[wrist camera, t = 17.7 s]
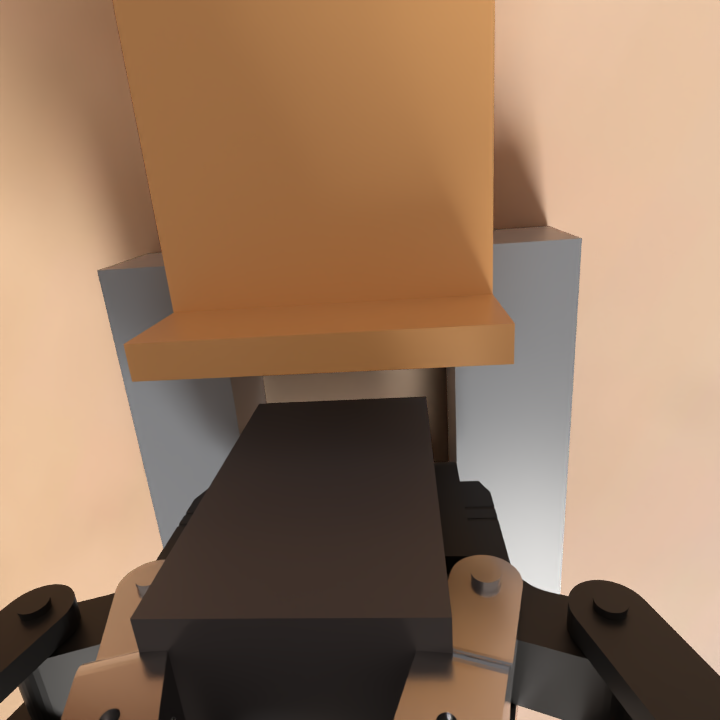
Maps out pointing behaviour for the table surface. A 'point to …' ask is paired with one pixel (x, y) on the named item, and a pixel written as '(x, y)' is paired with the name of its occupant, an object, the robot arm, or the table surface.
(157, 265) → the socket
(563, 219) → the table surface
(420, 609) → the plug
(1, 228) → the table surface
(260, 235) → the panel
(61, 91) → the table surface
